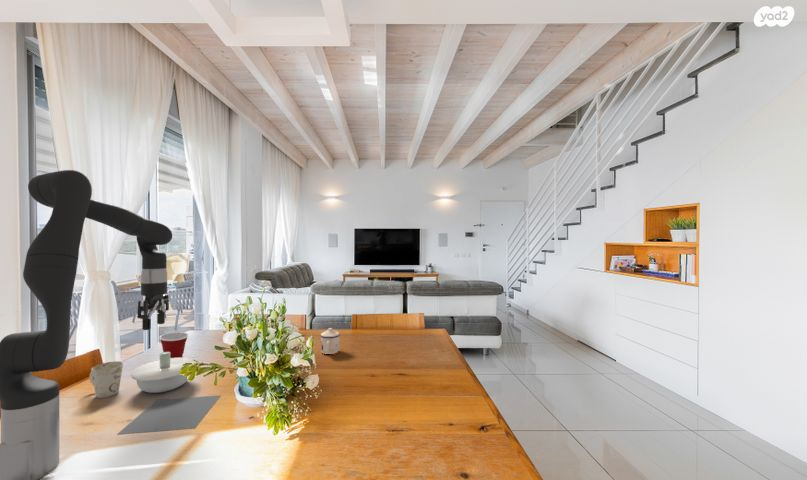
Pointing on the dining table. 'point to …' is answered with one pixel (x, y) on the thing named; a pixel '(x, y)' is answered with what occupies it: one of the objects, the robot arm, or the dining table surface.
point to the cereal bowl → (162, 384)
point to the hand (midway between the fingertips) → (154, 326)
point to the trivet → (171, 415)
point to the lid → (160, 368)
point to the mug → (106, 378)
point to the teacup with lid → (330, 341)
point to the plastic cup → (174, 343)
